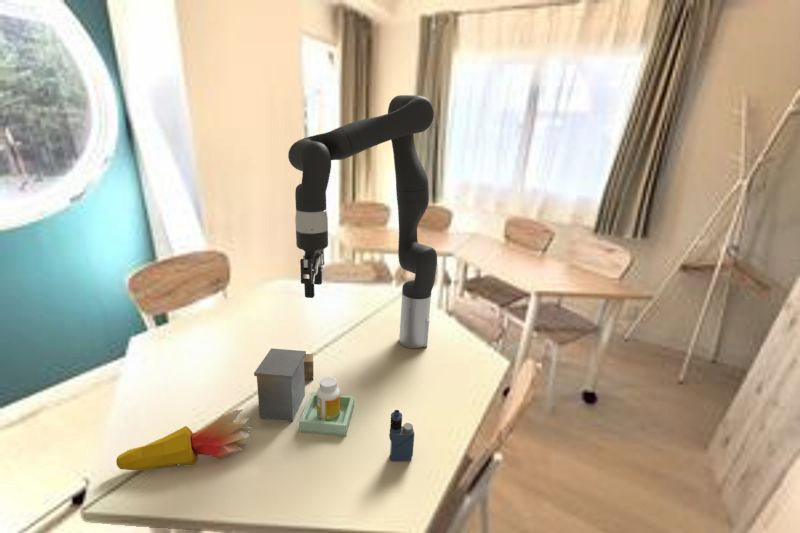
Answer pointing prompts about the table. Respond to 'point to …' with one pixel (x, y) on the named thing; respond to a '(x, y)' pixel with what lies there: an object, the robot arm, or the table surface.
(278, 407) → the box
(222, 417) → the torch
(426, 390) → the table surface
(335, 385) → the supplement bottle
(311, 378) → the walnut block
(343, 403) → the tray
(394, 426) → the vaping device
